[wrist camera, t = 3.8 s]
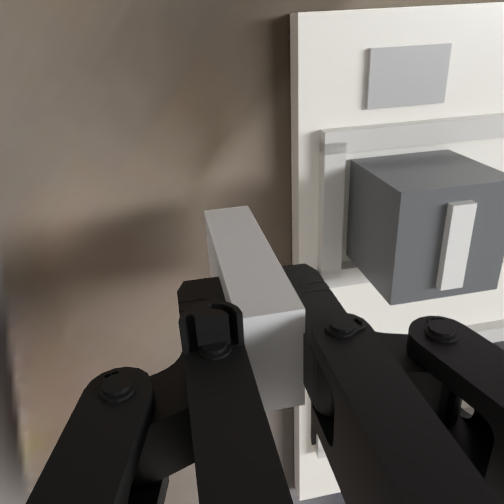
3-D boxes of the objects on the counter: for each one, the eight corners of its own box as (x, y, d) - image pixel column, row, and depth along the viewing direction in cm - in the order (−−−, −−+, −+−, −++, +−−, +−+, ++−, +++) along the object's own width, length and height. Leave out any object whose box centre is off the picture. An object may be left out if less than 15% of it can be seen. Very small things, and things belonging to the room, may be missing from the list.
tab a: (350, 159, 17) (406, 196, 14) (448, 149, 18) (527, 181, 14) (346, 254, 19) (394, 310, 15) (435, 242, 20) (502, 293, 16)
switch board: (289, 13, 16) (303, 11, 15) (724, -10, 19) (771, -12, 17) (294, 485, 27) (302, 510, 25) (570, 426, 29) (592, 447, 28)
